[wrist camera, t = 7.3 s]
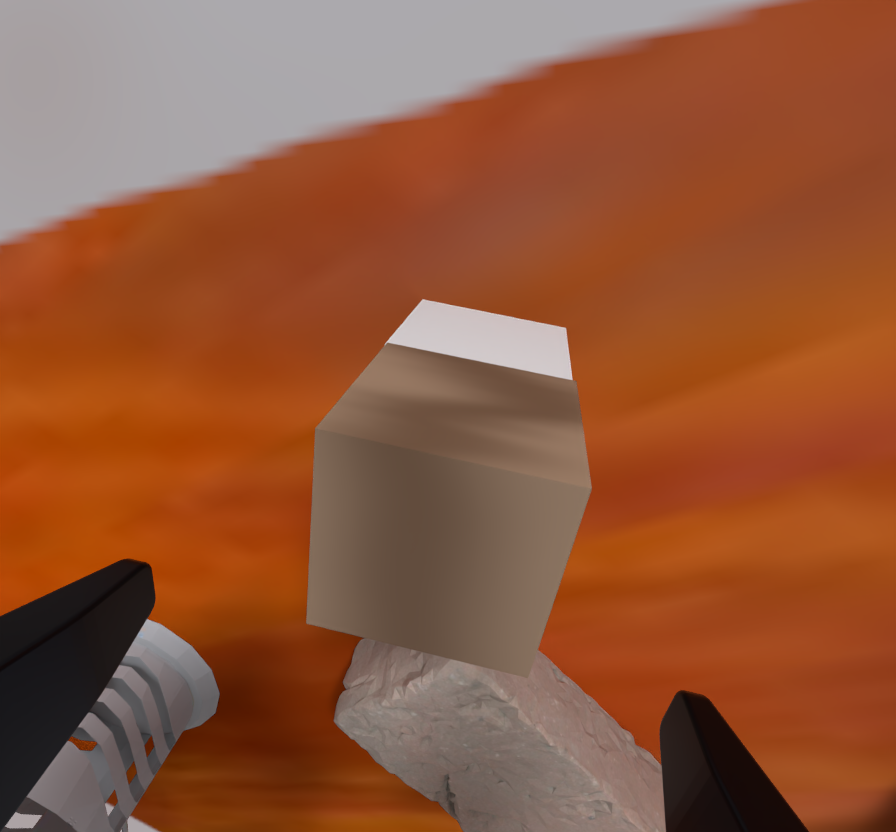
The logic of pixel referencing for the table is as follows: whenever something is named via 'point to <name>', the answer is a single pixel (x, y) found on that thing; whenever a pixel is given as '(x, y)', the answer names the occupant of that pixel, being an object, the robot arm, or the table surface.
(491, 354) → the white cube
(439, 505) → the walnut cube
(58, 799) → the french press
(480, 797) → the brick
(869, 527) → the table surface
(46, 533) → the table surface
